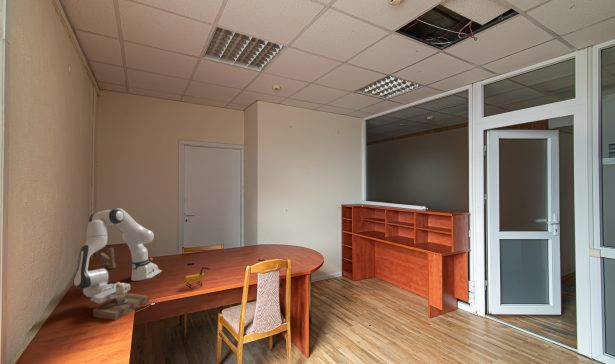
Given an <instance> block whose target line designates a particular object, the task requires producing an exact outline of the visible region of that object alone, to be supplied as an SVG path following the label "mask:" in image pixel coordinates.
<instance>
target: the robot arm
mask: <svg viewBox="0 0 615 364" xmlns="http://www.w3.org/2000/svg"><path fill="white" fill-rule="evenodd" d="M113 225H115V226H116V227H117V228H118V229H119V230H120V231H121V232H122V233H123V234H122V235H121V236H122V238H121V239H122V240H123V242H125V244H126V245H127V247H128V249H129V250H130V255H131V261H130V262H131V263H130V264H131V278H130V280H131V281H134V282H135V281H136V282H137V281H144V280H149V279H151V278H154V277H155V276H156V275H158V274H161V272H162V270H161V269H159V266H158V265H157V264H156V263H153V262H152V261H153V260H154V259H153V258H152V257H150V258H149V253H148V248H146V246H144V244H148V243H152V242H153V240H154V239H155V235H154V232H153V231H152V230H150V229H147V228H145V227H144V226H143V225H141V224H139V223H138V222H136V221H135V219H134V218H133V217H132V216H131V215H130V214H129V213H128V212H127V211H125V209H123V208H121V207H120V208H119V207H117V208H113V209H105V210H102V211H101V210H100V211H96V212H94V213H92V214H90V216H89V219H88V224H87V228H86V240H85V244H83V246H82V247H81V248H80V251H79V256H78V260H77V267H76V272H75V275H74V278H73V286H74V287H76V288H77V289H79V290H83V291H82V292H83V295H84V296H86V297H88V298H90V301H91V302H94V303H96V304H99V305H100V304H103V303H105V302H107V301H109V300H110V301H111V300H114V299H116V298H118V297H119V295H118V294H116V284H119V283H121V282H120V281H115V282H112V283H109V280H110V276H111V275H110V273H109V271H108V270H107V268H106V269H104V268H102V267H101V268H97V269H93V270H89V263H90V258H91V256H92V255H93V254H95V253H96V252H98V251H100V250H102V249H103V248H105V247H106V246H107V244H108V227H109V226H113ZM123 283H124V287H125V294H126V293H128V292H129V291H130V290H131V284H130V283H127V282H123Z"/></svg>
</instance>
